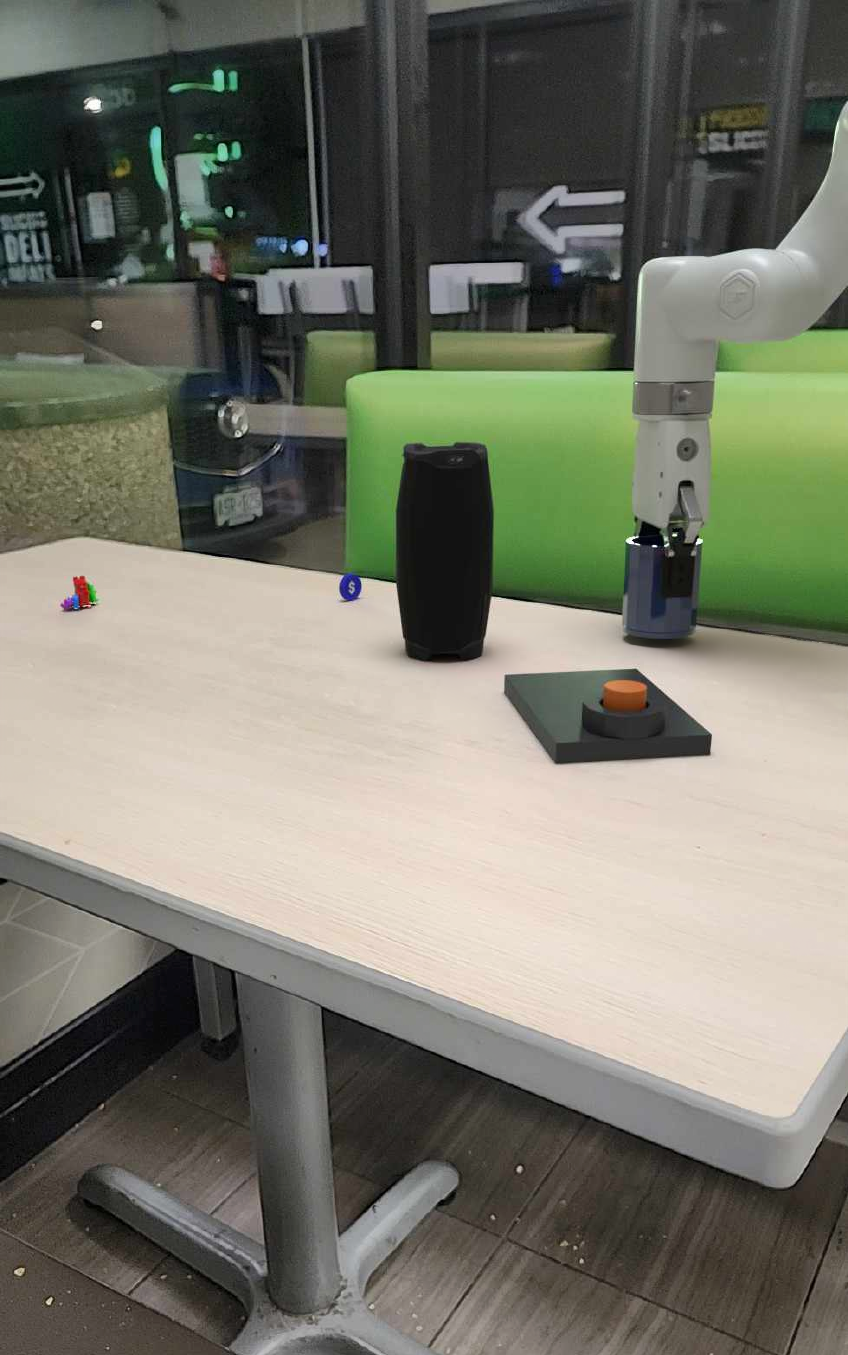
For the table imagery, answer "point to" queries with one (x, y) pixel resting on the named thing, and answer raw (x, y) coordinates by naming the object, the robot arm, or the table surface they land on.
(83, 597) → the colorful small pieces
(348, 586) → the coin
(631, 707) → the switch
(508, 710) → the table surface
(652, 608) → the blue cup
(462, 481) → the portable speaker
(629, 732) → the push button base
